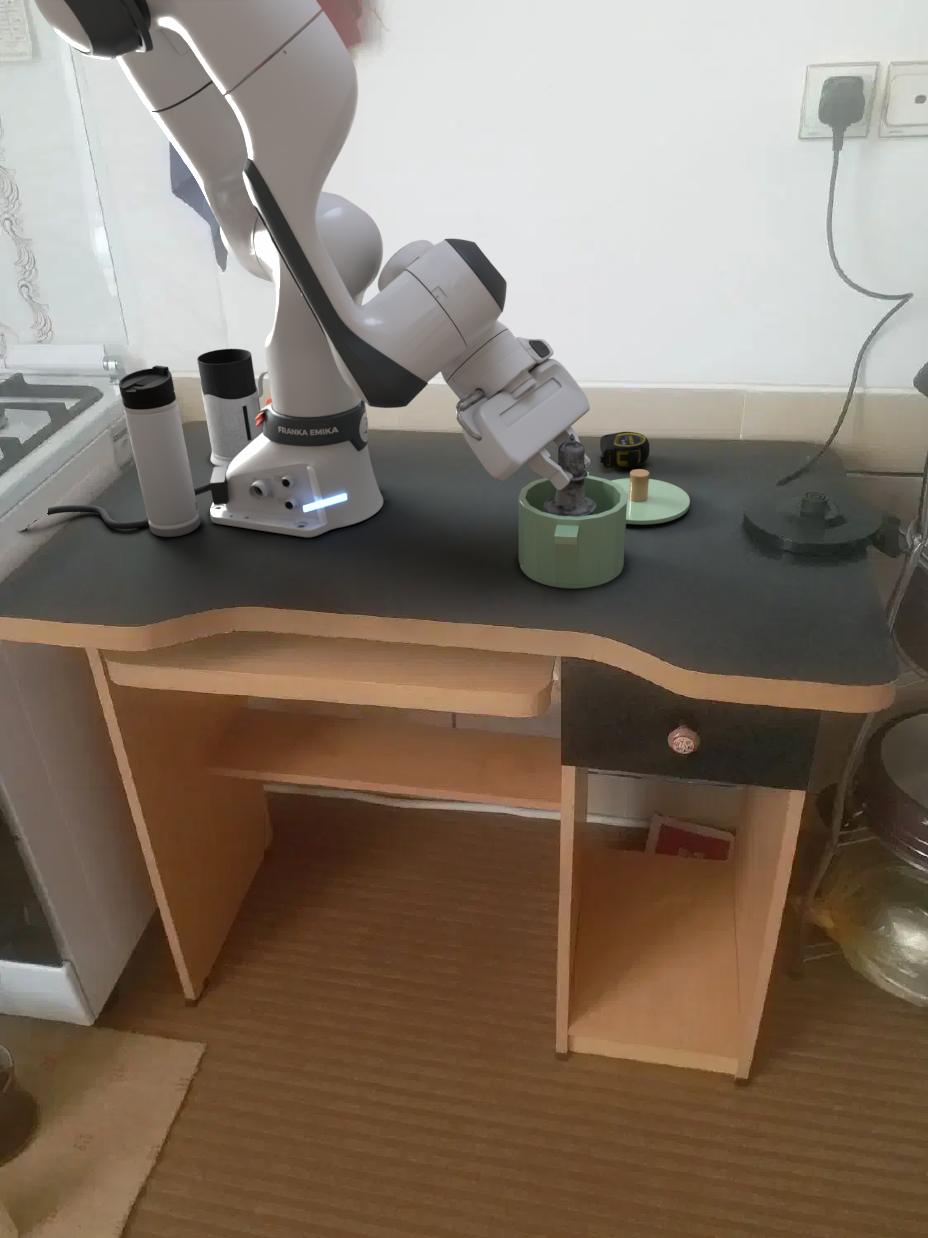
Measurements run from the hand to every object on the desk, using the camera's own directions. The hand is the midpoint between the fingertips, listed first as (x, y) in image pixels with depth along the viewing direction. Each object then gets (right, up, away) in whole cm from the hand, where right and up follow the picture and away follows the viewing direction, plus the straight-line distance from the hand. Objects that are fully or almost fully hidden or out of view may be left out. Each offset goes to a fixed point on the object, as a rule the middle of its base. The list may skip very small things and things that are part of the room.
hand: (575, 476), depth 108 cm
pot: (0, -9, +6) cm, 11 cm away
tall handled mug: (-43, +8, +38) cm, 58 cm away
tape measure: (+10, +6, +31) cm, 33 cm away
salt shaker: (0, -6, +4) cm, 7 cm away
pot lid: (+10, -1, +18) cm, 21 cm away
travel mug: (-49, -4, +19) cm, 53 cm away
